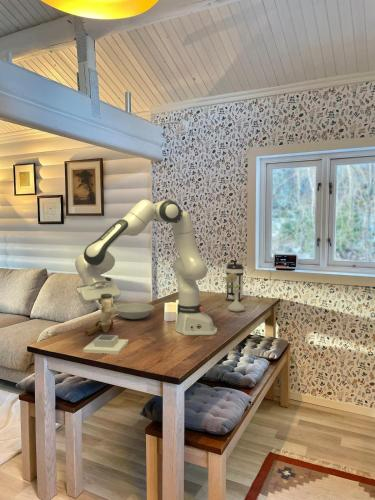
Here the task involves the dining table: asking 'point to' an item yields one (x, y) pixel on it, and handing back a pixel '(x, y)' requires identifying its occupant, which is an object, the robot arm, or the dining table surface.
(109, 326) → the kendama
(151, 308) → the soup bowl
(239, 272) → the coffee press
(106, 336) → the holder
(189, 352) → the dining table surface
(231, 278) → the flower in vase
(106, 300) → the peg
